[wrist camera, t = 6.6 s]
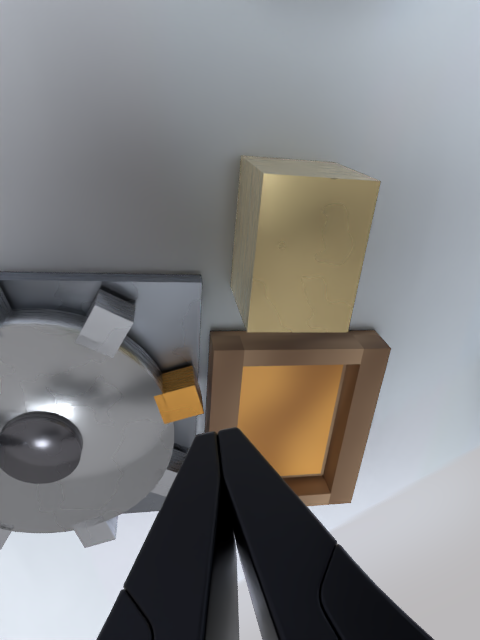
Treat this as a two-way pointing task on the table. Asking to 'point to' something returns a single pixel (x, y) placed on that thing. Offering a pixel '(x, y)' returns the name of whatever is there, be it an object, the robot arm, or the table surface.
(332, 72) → the table surface
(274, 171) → the tan rectangular block
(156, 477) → the sprocket
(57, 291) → the sprocket base
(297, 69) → the table surface
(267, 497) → the robot arm
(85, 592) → the table surface
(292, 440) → the brown open tray
